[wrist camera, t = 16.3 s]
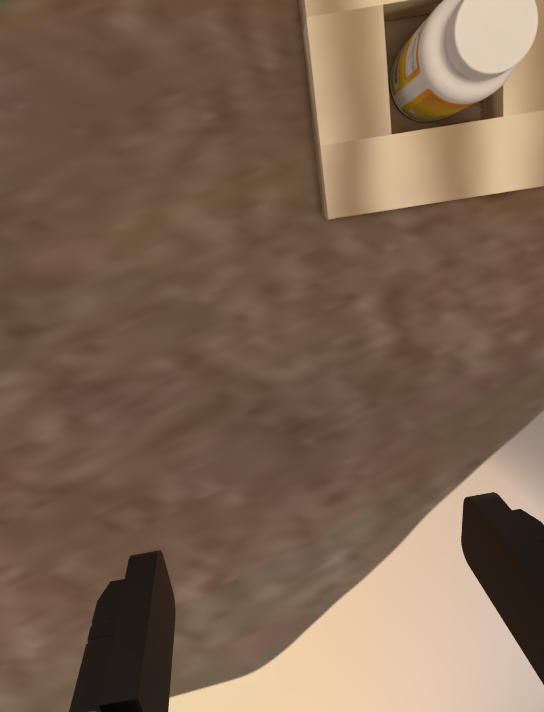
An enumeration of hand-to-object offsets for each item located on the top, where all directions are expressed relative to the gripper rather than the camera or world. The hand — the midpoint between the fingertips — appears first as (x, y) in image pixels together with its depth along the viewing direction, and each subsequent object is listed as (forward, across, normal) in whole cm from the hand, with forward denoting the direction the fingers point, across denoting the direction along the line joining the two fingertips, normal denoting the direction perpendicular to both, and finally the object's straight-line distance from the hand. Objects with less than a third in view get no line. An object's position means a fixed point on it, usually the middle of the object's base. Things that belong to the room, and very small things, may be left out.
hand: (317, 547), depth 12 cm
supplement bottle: (+26, -14, -13) cm, 32 cm away
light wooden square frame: (+26, -14, -13) cm, 32 cm away
